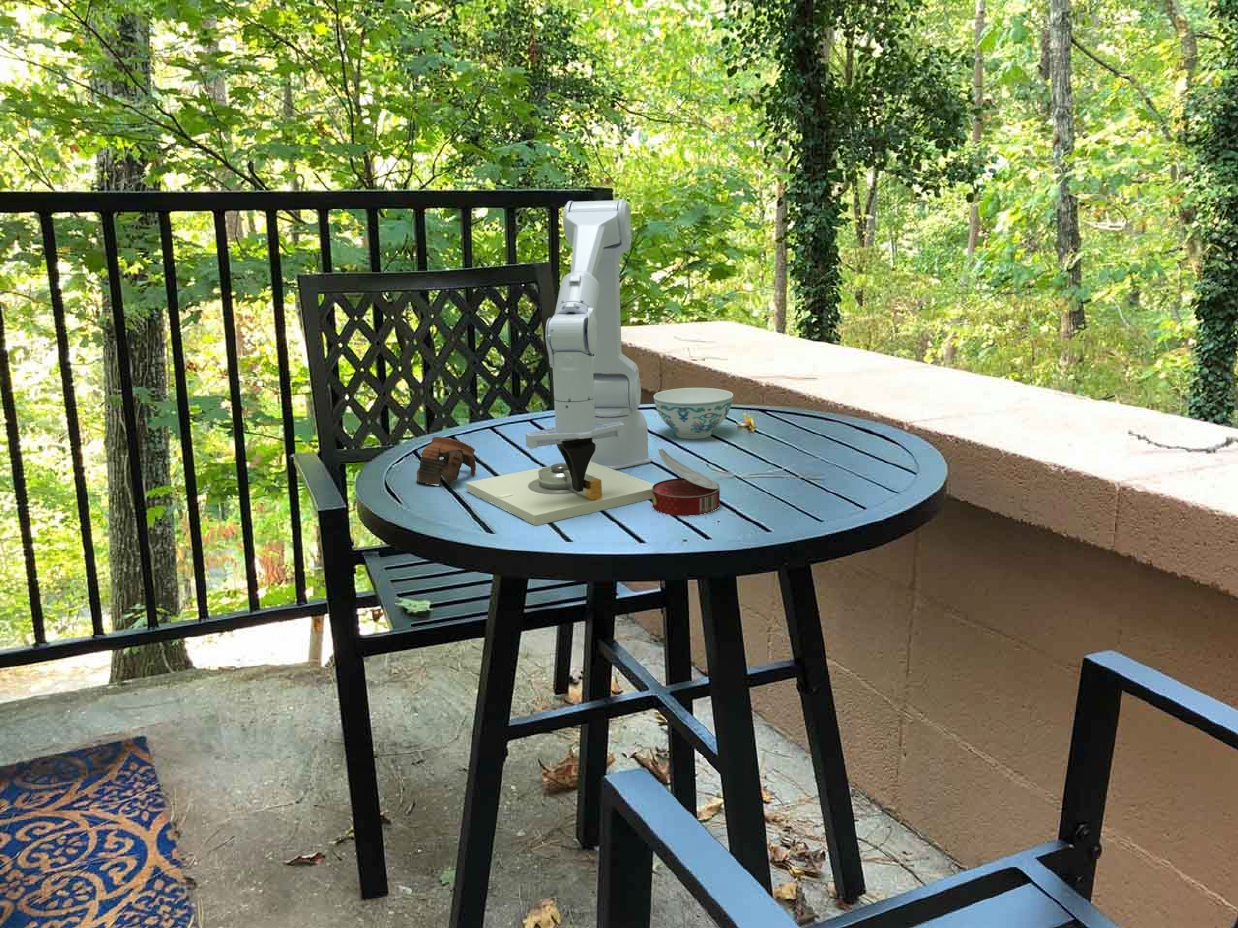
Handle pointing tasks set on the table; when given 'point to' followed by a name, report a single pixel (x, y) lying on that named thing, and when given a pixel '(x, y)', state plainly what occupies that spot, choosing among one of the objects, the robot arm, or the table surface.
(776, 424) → the table surface
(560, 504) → the panel
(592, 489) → the dial
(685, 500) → the canned food
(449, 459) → the brown ridged arch
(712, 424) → the chinaware
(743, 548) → the table surface
